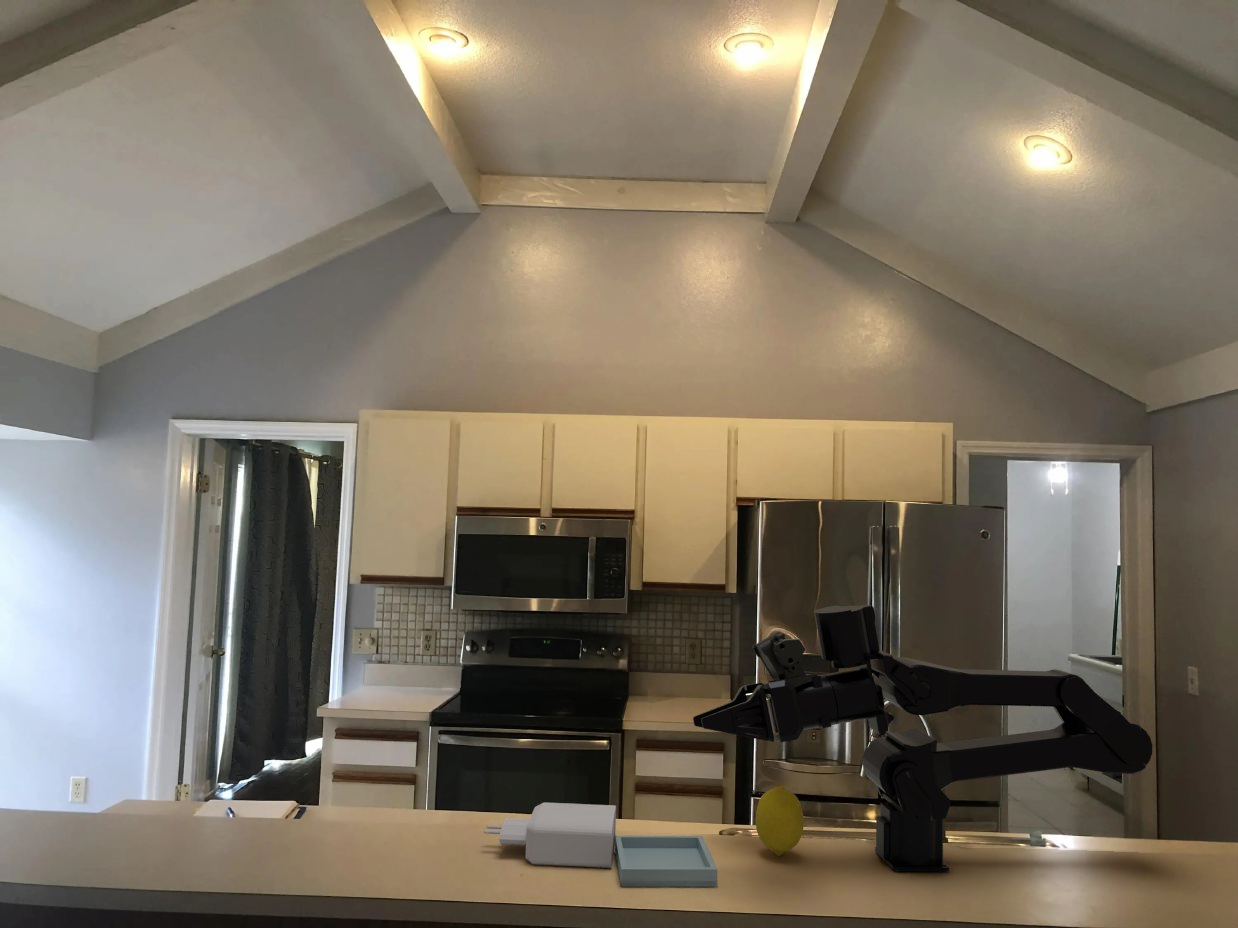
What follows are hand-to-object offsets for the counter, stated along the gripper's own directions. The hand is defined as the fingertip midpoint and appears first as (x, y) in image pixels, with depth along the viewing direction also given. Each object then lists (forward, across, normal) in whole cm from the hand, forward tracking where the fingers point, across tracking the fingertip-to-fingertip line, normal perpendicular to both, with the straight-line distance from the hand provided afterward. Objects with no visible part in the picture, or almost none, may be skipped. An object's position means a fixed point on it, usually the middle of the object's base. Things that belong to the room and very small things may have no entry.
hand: (697, 722), depth 103 cm
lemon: (-7, -5, +17) cm, 19 cm away
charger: (+19, -5, +12) cm, 23 cm away
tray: (+7, 0, +15) cm, 16 cm away
